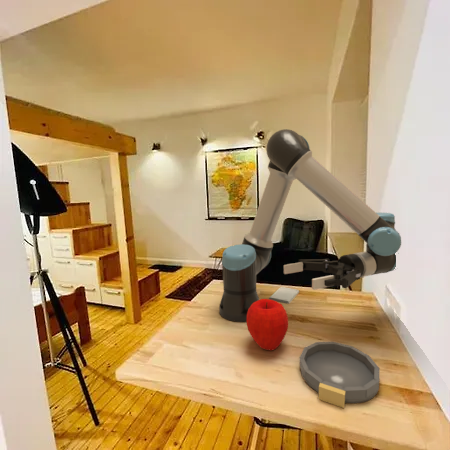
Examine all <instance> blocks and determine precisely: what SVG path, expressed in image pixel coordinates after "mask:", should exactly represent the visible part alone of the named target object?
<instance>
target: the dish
mask: <svg viewBox="0 0 450 450" xmlns="http://www.w3.org/2000/svg"><path fill="white" fill-rule="evenodd" d="M299 367H300V373H301V376H302V378H303V380H304V382H305V383H306V384H307V385H308V386H309V387H310V388H311V389H312V390H314V391H315V392H316V393H318V400H319V401H323V402H326V403H328V404H331V405H334V406H337V407H339V408H343V409H345V406H346V404H361V403H365V402H368V401H370V400H372V399H373V398H374V397H375V396H377V394H378V392H379V390H380V372H381V371H380V367H379V365H377V363H376V362H375V361H374V359H373V358H372V357H370V355H368V354H367V353H365V352H363V351H361V350H359V349H358V348H356V347H355V346H352V345H349V344H345V343H340V342H336V341H316V342H314V343H311V344H309V345H307V346H305V347H304V348H303V350H302V352H301V353H300V356H299Z"/></svg>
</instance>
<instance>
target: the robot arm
mask: <svg viewBox="0 0 450 450" xmlns="http://www.w3.org/2000/svg"><path fill="white" fill-rule="evenodd" d="M265 152H266V156H267V158H268V160H269V162H268V165H267V169H268V171H269V176H268V178H267V181H266V184H265V188H264V190H263V193H262V196H261V199H260V201H259V205H258V208H257V211H256V213H255V217H254V219H253V222H252V226H251V229H250V231H249V232H248V233H247V234H244V237H243V240H242V243H240V244H235V245H231V246H228V247H226V248H224V250H223V252H222V258H221V265H222V283H223V284H222V285H223V293H222V294H221V299H220V303H219V314H220V316H221V317H222V318H223V319H225V320H228V321H232V322H237V323H239V322H240V323H242V322H244V323H245V322H247V321H246V320H247V312H248V309H249V308H250V306H251V305H252V304H253V303H254V302H256V301H258V300H260V298H259V295H258V292H257V275H258V274H259V273H260V272H261V271H262V270H263V269H265V268H266V267H267V266H268V265H269V263H270V262H271V258H272V250H273V247H274V243H273V241H272V238H273V235H274V233H275V231H276V228H277V225H278V222H279V220H280V216H281V214H282V211H283V209H284V207H285V203H286V200H287V198H288V194H289V192H290V190H291V188H292V187H291V186H292V184H293V181H294V180H298V182H299V183H300V184H302V185H303V186H304V187H305V188H306V189H307V190H308V191H309V192H310V193H312V195H314V196H315V197H316V198H317V199H318V200H320V202H322V203H323V204H324V205H325V207H327V208H328V209H329V210H330V211H331V212H333V213H334V214H335V215H336V216H337V217H338V218H339V219H340V220H341V221H343V223H345V225H347V226H348V227H349V228H350V229H351V230H352V231H353V232H354V233H356V234H357V235H358V236H359V237H360V238H361V239H362V240H363V242H365V244H366V245H365V246H366V247H365V249H366V251H361V252H354V253H349V254H344V255H341V256H340V257H339V259H338V260H332V261H330V259H329V258H321V259H316V258H315V259H302V258H301V259H298V262H295V263H287V264H284V265H283V274H284V275H288V274H295V273H299V272H301V273H302V272H303V271H317V272H322V273H325V274H330V275H325V276H320V277H315V278H312V279H311V289H312V290H313V291H314V290H315V291H316V290H318V289H319V290H320V289H324V288H329V287H334V286H335V287H340V286H341V288H343V289H348V288H349V287H350V286H351V285H353V283H355V282H356V281H357V280H361V278H365V277H369V276H373V275H378V274H379V275H380V274H386V273H387V274H388V273H389V272H392V271H395V270H396V269H395V267H396V255H395V253H396V252H398V251H399V250H400V249H401V246H402V237H401V235H400V234H401V233H400V232H399V231H397V230H396V227H395V225H396V221H395V217H396V216H395V215H394V213H391V212H375V210H373V209H372V207H370V206H368V204H366V202H364V201H363V200H362V199H361V198H360V197H359V196H357V195H356V194H355V193H354V192H353V191H352V190H351V189H349V187H348V186H346V185H345V184H344V183H343V182H342V181H340V180H339V179H338V178H337V177H336V176H335V175H334V174H333V173H332V172H330V170H328V169H327V168H326V167H325V166H323V165H322V164H321V163H320V162H319V161H317V159H315V157H313V151H312V150H311V147H310V145H309V142H308V140H307V139H306V138H305V137H304V136H303V135H300V134H299V133H298V132H297V131H294V130H292V129H279V130H278V131H276V132H274V133H273V134H272V135H271V136H270V137H269V139H268V141H267V144H266V151H265ZM394 269H395V270H394ZM331 274H332V275H331Z"/></svg>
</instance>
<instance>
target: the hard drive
mask: <svg viewBox="0 0 450 450" xmlns="http://www.w3.org/2000/svg"><path fill="white" fill-rule="evenodd" d="M299 293H300V290H299V289H296V288H290V287H284V286H280V287H279V288H278V289H277V290H275V292H273V294H272V295H270V296H269V298H268V299H270V300H274V301H276V302H278V303H283V304H287V305H288V304H290V303H291V302H292V301H293V300H294V299H295V297H297V296H298V295H299Z"/></svg>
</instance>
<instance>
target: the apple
mask: <svg viewBox="0 0 450 450" xmlns="http://www.w3.org/2000/svg"><path fill="white" fill-rule="evenodd" d="M245 322H246V327H247V331H248V333H249V335H250V336H251V338H252V339H253V340H254V341H255V343H256V344H257V345H258V346H259V348H261V349H262V350H266V351H274V350H276V349H278V347H280V344H282V342H283V340H284V338H285V337H286V334H287V331H288V330H289V317H288V313H287V310H286V308H285V307H284V306H283V304H282V303H281V302H278V301H274V300H270V299H269V298H261V299H260V298H259V300H258V301H256V302H254V303H253V304H252V305H251V306H250V308H249V309H248V312H247V320H246V321H245Z"/></svg>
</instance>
